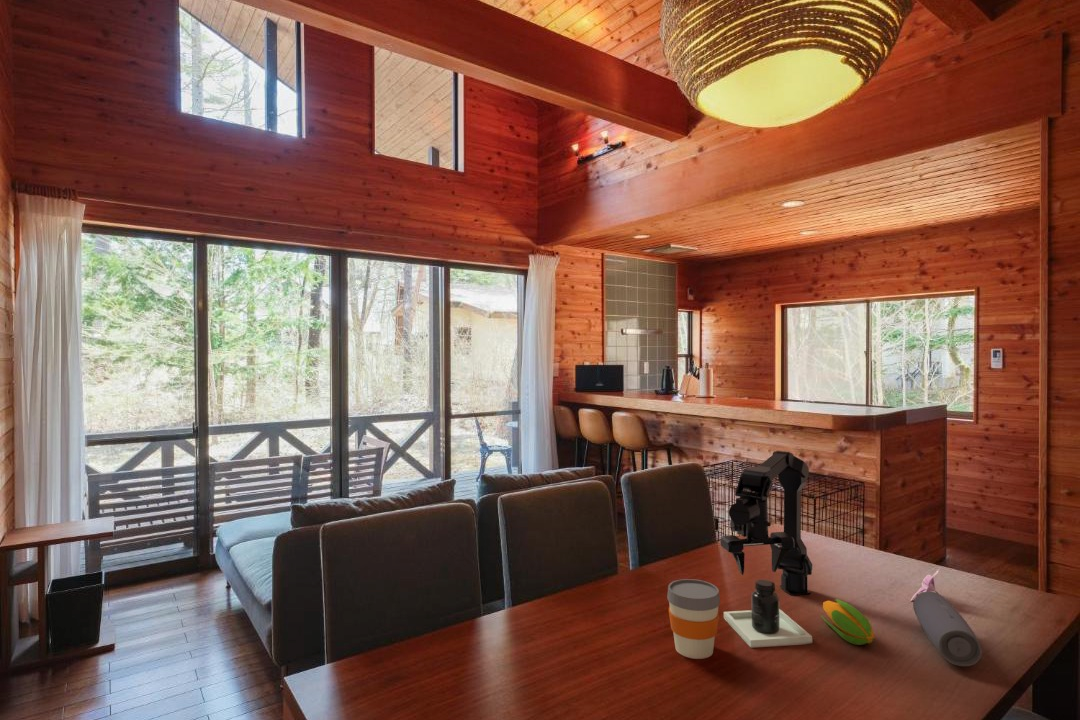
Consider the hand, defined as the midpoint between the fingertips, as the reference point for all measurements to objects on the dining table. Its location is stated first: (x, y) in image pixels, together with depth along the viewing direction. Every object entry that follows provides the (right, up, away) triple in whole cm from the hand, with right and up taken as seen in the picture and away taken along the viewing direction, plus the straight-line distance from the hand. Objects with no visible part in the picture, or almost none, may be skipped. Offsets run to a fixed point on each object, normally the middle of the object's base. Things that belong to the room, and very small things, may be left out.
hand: (757, 572), depth 157 cm
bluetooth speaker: (+39, -12, -17) cm, 45 cm away
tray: (-1, -13, -7) cm, 14 cm away
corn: (+19, -13, -9) cm, 24 cm away
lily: (+53, -12, +10) cm, 56 cm away
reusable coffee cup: (-22, -13, -16) cm, 30 cm away
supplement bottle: (-1, -12, -7) cm, 14 cm away
